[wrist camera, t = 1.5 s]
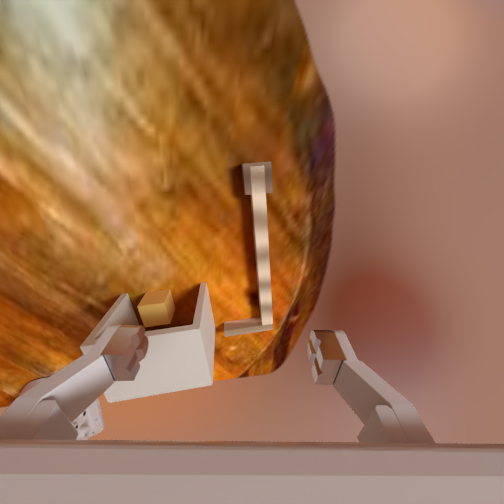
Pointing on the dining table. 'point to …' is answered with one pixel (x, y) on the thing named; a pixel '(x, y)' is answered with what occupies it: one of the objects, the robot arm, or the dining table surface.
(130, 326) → the robot arm
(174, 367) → the cubby
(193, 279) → the dining table surface
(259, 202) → the pale grey hook
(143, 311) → the ochre cube
